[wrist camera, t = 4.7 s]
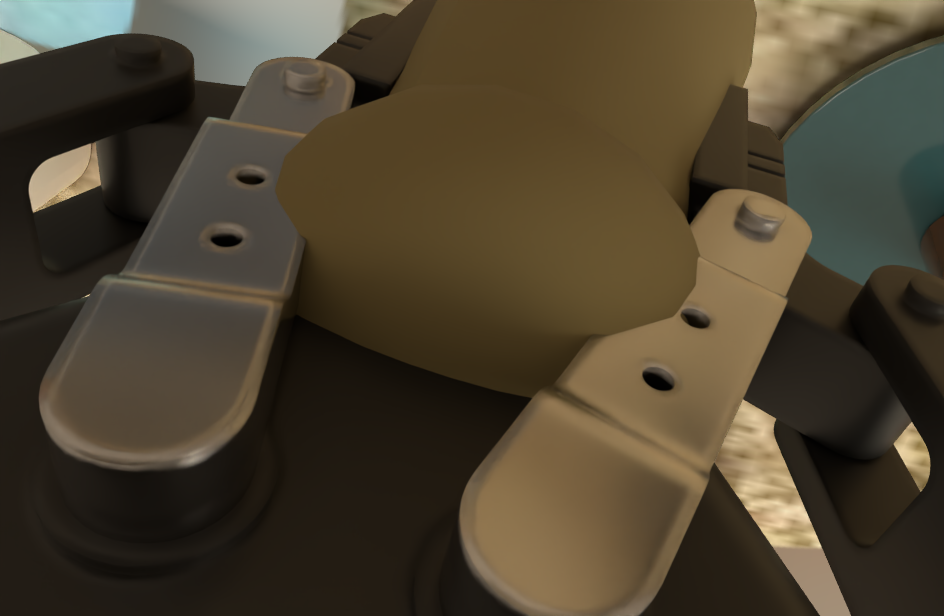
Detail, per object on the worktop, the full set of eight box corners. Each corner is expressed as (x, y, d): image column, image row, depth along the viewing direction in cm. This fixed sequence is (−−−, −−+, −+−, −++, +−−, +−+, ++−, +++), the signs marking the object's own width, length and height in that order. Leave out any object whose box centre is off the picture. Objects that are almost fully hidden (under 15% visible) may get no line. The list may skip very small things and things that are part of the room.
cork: (765, 164, 16) (783, 689, 8) (482, 194, 18) (255, 628, 10) (746, -178, 13) (742, 86, 4) (403, -91, 15) (-36, 195, 7)
